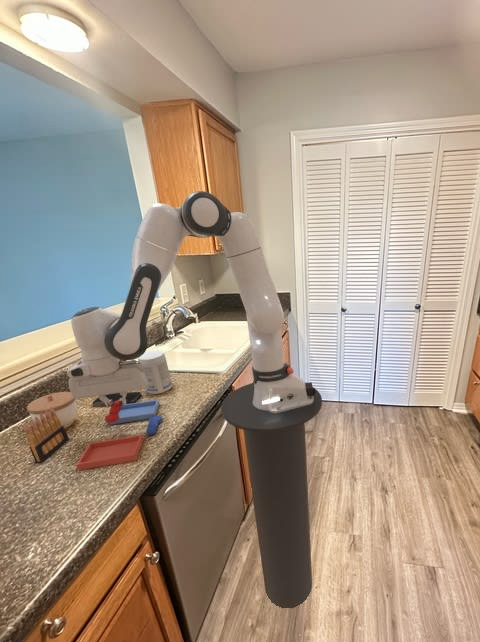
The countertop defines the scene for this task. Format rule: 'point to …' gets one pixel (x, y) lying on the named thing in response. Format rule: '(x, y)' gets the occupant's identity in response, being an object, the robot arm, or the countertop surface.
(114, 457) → the red tray
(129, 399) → the phone
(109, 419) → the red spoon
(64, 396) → the lidded bowl
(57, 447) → the ammunition clip
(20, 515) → the countertop surface
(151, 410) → the blue tray
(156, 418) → the blue lumpy bar
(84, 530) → the countertop surface
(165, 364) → the supplement tub
